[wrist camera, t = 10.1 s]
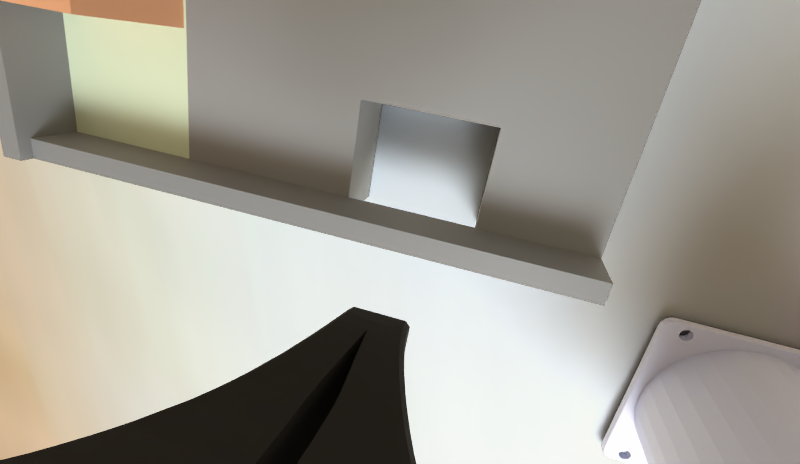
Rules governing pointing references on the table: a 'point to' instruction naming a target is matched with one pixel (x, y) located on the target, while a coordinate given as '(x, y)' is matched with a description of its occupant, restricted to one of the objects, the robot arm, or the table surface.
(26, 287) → the table surface
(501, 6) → the board
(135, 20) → the block
